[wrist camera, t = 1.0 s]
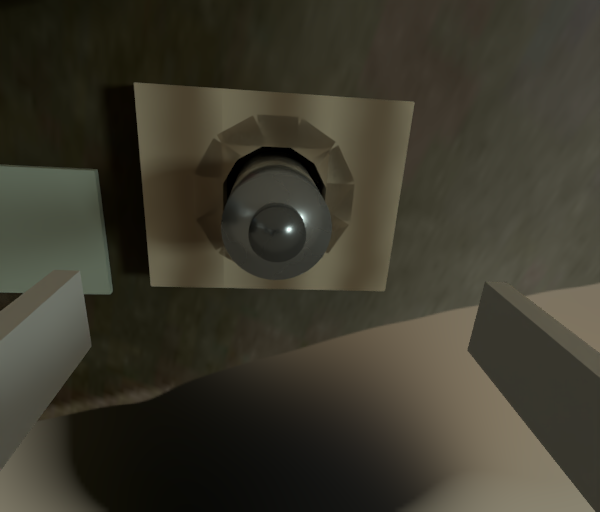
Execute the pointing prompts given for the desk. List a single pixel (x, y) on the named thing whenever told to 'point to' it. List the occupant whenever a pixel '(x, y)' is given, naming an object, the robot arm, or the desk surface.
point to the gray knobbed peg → (275, 218)
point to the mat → (52, 227)
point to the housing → (247, 138)
